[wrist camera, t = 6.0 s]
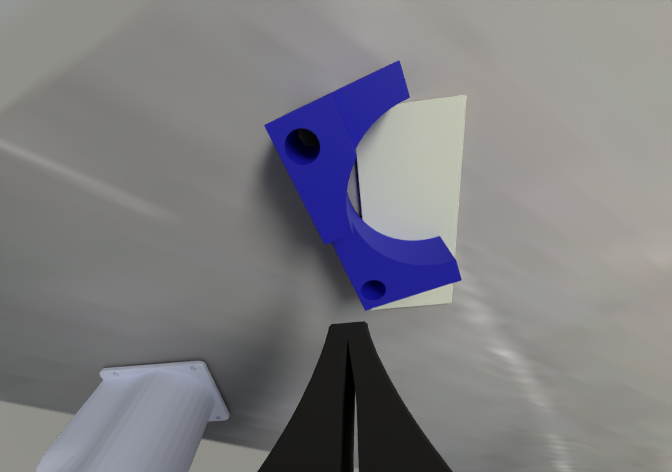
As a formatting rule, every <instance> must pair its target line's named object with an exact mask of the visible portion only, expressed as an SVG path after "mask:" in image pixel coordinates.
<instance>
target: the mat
mask: <svg viewBox="0 0 672 472" xmlns="http://www.w3.org/2000/svg"><path fill="white" fill-rule="evenodd" d="M466 97H467V95H460V96H452V97H445V98H437V99H430V100H422V101H415V102H407V103H400V104H397V105H395V106H394V107H392V108H391V109H389V110H388V111H387V112H386V113H384V114H383V115H382V116H381V117H380V118H379V119H378V120H377V121H376V122H375V123H374V124H373V125H372V126H371V127H370V128H369V129H368V131H367V132H366V133H365V134H364V136H363V138H362V139H361V141H360V142H359V144H358V146H357V148H356V154H357V165H358V176H359V187H360V198H361V209H362V220H363V221H364V222H365V223H366V224H367V225H369V226H370V227H371V228H373V229H374V230H376V231H377V232H379V233H381V234H383V235H386V236H388V237H392V238H395V239H400V240H425V239H430V238H434V237H437V236H440V237H441V238H442V240H443V241H444V243H445V244H446V246H447V247H448V249H449V250H450V252H451V253H452V255H453V256H454V258H455V249H456V235H457V221H458V208H459V194H460V180H461V166H462V152H463V139H464V125H465V111H466ZM452 290H453V283H451V284H448V285H445V286H442V287H439V288H435V289H432V290H429V291H426V292H423V293H420V294H416V295H413V296H410V297H407V298H404V299H401V300H397V301H394V302H391V303H388V304H385V305H382V306H378V307H375V308H372V309H371V310H376V309H388V308H399V307H411V306H422V305H434V304H445V303H452Z"/></svg>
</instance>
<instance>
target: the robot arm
mask: <svg viewBox="0 0 672 472" xmlns="http://www.w3.org/2000/svg"><path fill="white" fill-rule="evenodd" d="M99 374H100V376H101V378H102V379H103V381H102V382H101V384H100V385H99V386H98V387H97V389H96V390H95V391H94V392H93V394H92V395H91V396H90V397H89V399H88V400H87V401H86V402H85V403H84V405H83V406H82V407H81V408H80V410H79V411H78V412H77V413H76V415H75V416H74V417H73V418H72V420H71V421H70V422H69V423H68V425H67V426H66V427H65V428H64V430H63V431H62V432H61V434H59V436H58V437H57V438H56V439H55V441H54V442H53V443H52V444H51V446H50V447H49V448H48V450H47V451H46V453H45V454H44V456H43V458H42V459H41V461H40V463H39V465H38V467H37V469H36V471H35V472H188V471H189V469H190V466H191V463H192V461H193V458H194V456H195V453H196V451H197V448H198V446H199V443H200V441H201V438H202V436H203V433H204V430H205V428H206V425H207V423H208V421H222V420H227V419H228V418H229V415H230V414H229V412H228V409H227V407H226V405H225V403H224V401H223V399H222V397H221V395H220V393H219V391H218V388H217V386H216V384H215V382H214V380H213V378H212V376H211V374H210V372H209V370H208V367H207V365H206V364H205V362H203V361H188V362H175V363H163V364H150V365H137V366H124V367H111V368H103V369H102V370H101V371H100V373H99ZM355 392H356V402H357V428H358V457H359V472H452V470H451V469H450V468H449V466H448V465H447V464H446V462H445V461H444V460H443V458H442V457H441V456H440V454H439V453H438V452H437V451H436V449H435V448H434V447H433V445H432V444H431V443H430V441H429V440H428V438H427V437H426V436H425V434H424V433H423V431H422V430H421V428H420V427H419V426H418V424H417V423H416V421H415V420H414V418H413V417H412V415H411V413H410V412H409V410H408V409H407V407H406V406H405V404H404V402H403V401H402V399H401V397H400V396H399V394H398V392H397V391H396V389H395V387H394V385H393V384H392V382H391V380H390V378H389V376H388V374H387V372H386V370H385V368H384V366H383V364H382V362H381V360H380V358H379V356H378V354H377V352H376V349H375V347H374V344H373V342H372V339H371V336H370V333H369V329H368V325H367V323H366V322H364V321H363V322H352V323H341V324H332V325H331V326H329V330H328V334H327V337H326V341H325V344H324V347H323V350H322V353H321V355H320V358H319V360H318V363H317V365H316V368H315V370H314V373H313V375H312V377H311V380H310V382H309V384H308V386H307V388H306V390H305V392H304V394H303V396H302V399H301V400H300V402H299V404H298V406H297V408H296V410H295V412H294V414H293V416H292V417H291V419H290V421H289V423H288V424H287V426H286V428H285V430H284V431H283V433H282V435H281V436H280V438H279V439H278V441H277V443H276V444H275V446H274V447H273V449H272V451H271V452H270V454H269V455H268V457H267V458H266V460H265V461H264V463H263V464H262V466H261V467H260V469H259V470H258V472H353V471H354V464H353V454H354V416H355Z"/></svg>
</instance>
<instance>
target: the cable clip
mask: <svg viewBox="0 0 672 472" xmlns="http://www.w3.org/2000/svg"><path fill="white" fill-rule="evenodd" d="M408 98H410V96H409V93H408V89H407V85H406V82H405V78H404V75H403V71H402V68H401V64H400V61H397V62H395V63H392V64H390V65H388V66H386V67H384V68H382V69H380V70H377V71H375V72H373V73H371V74H369V75H367V76H365V77H363V78H361V79H359V80H357V81H355V82H352V83H350V84H348V85H346V86H344V87H342V88H340V89H338V90H336V91H334V92H332V93H330V94H327V95H325V96H323V97H321V98H319V99H317V100H315V101H313V102H311V103H309V104H307V105H304V106H302V107H300V108H298V109H296V110H294V111H292V112H290V113H288V114H286V115H284V116H282V117H280V118H278V119H276V120H274V121H272V122H270V123H268V124H266V125H264V126H265V128H266V130H267V132H268V134H269V136H270V138H271V140H272V142H273V144H274V146H275V148H276V150H277V151H278V153H279V155H280V157H281V159H282V161H283V163H284V165H285V167H286V169H287V171H288V173H289V175H290V177H291V179H292V181H293V183H294V185H295V187H296V189H297V191H298V193H299V195H300V197H301V199H302V201H303V203H304V205H305V207H306V209H307V211H308V213H309V215H310V216H311V218H312V220H313V222H314V224H315V226H316V228H317V230H318V232H319V234H320V236H321V238H322V240H323V242H324V244H328V243H330V242H332V244H333V246H334V248H335V250H336V252H337V254H338V256H339V258H340V260H341V262H342V264H343V266H344V268H345V270H346V272H347V275H348V277H349V279H350V281H351V283H352V285H353V287H354V289H355V291H356V293H357V295H358V297H359V299H360V301H361V303H362V305H363V307H364V309H365V311H366V310H369V309H372V308H375V307H378V306H382V305H385V304H388V303H391V302H394V301H397V300H401V299H404V298H407V297H410V296H413V295H416V294H420V293H423V292H426V291H429V290H432V289H435V288H439V287H442V286H445V285H448V284H451V283H454V282H458V281H461V276H460V273H459V269H458V266H457V262H456V259H455V258H454V256H453V255H452V253H451V252H450V250H449V249H448V247H447V246H446V244H445V243H444V241H443V240H442V238H441V237H440V236H437V237H434V238H430V239H425V240H400V239H395V238H392V237H388V236H386V235H383V234H381V233H379V232H377V231H376V230H374V229H373V228H371V227H370V226H369V225H367V224H366V223H365V222H364V221H363V220H362V219H361V218H360V217H359V215H358V214H357V212H356V211H355V209H354V208H353V206H352V204H351V202H350V199H349V197H348V193H347V186H348V180H349V177H350V173H351V170H352V167H353V165H354V162H355V160H356V158H357V155H356V151H355V149H356V148H357V146H358V144H359V142H360V141H361V139H362V138H363V136H364V134H365V133H366V132H367V131H368V129H369V128H370V127H371V126H372V125H373V124H374V123H375V122H376V121H377V120H378V119H379V118H380V117H381V116H382V115H383V114H384V113H386V112H387V111H388V110H389V109H391V108H392V107H394V106H395V105H397V104H398V103H400V102H402V101H404V100H406V99H408ZM299 128H305V129H308V130H310V131H312V132H313V133H314V134H315V135H316V136H317V138H318V140H319V142H320V144H318V145H316V146H308V145H306V144H304V143H303V142H302V141H301V139H300V137H299V134H298V129H299Z"/></svg>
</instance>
